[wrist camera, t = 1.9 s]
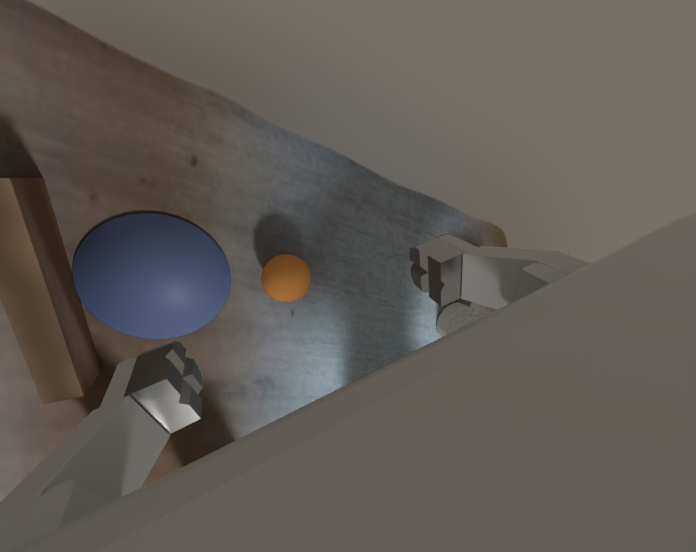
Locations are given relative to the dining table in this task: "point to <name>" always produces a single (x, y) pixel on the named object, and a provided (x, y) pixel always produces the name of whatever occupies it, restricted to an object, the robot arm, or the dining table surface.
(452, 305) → the white cup
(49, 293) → the rail
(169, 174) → the dining table surface
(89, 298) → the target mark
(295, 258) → the ball
